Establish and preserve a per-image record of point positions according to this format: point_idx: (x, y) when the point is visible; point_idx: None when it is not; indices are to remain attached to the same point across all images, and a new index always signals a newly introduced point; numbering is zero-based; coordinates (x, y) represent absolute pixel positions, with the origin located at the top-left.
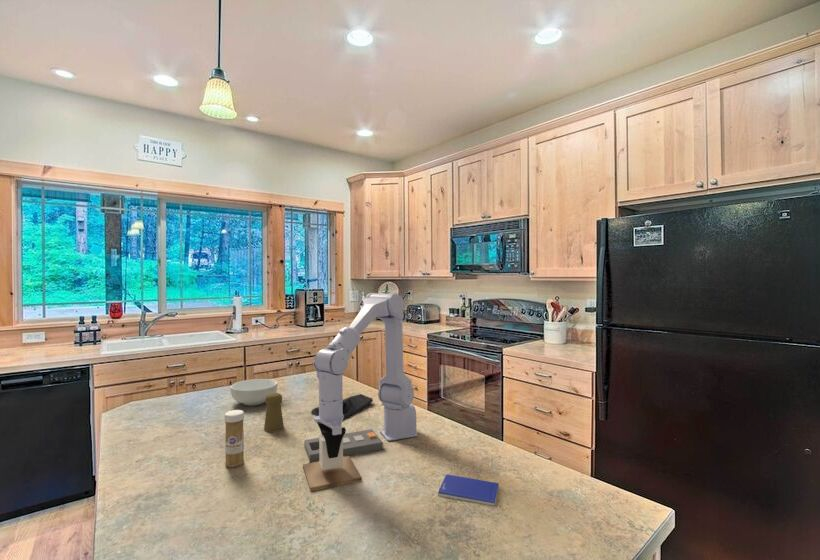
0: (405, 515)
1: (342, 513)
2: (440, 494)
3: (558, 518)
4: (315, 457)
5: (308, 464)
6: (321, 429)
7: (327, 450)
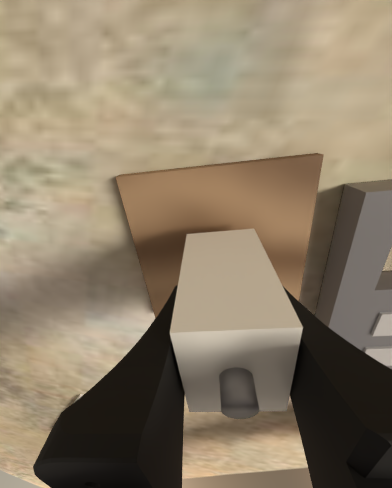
0: (14, 348)
1: (3, 252)
2: (77, 398)
3: (29, 451)
4: (349, 212)
5: (307, 179)
6: (129, 464)
7: (162, 309)
